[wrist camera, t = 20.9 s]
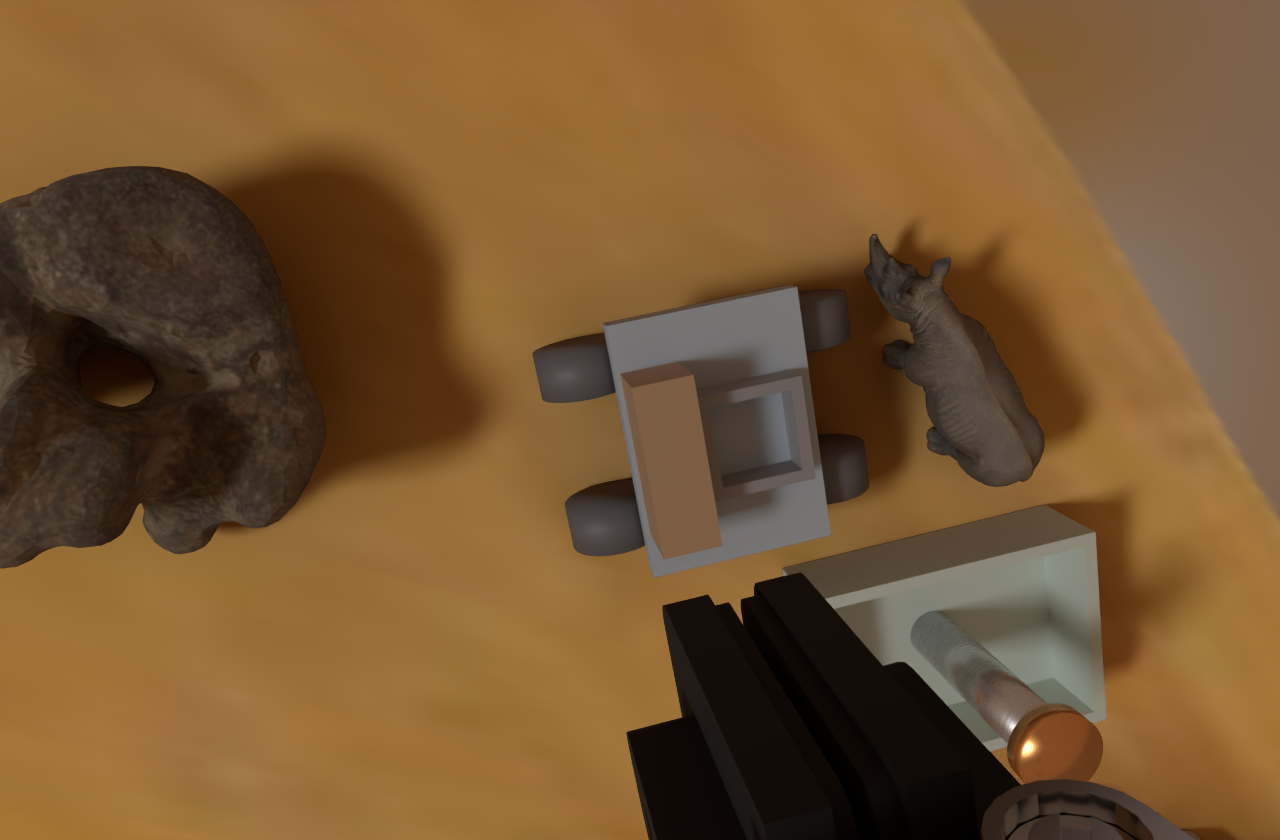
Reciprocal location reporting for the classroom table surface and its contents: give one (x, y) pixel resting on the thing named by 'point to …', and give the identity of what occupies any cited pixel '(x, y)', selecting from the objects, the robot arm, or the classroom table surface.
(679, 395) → the trolley
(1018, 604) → the tray
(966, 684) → the pin
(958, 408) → the rhino figurine
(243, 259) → the decorative stone
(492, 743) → the classroom table surface
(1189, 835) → the walkie-talkie
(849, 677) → the robot arm
